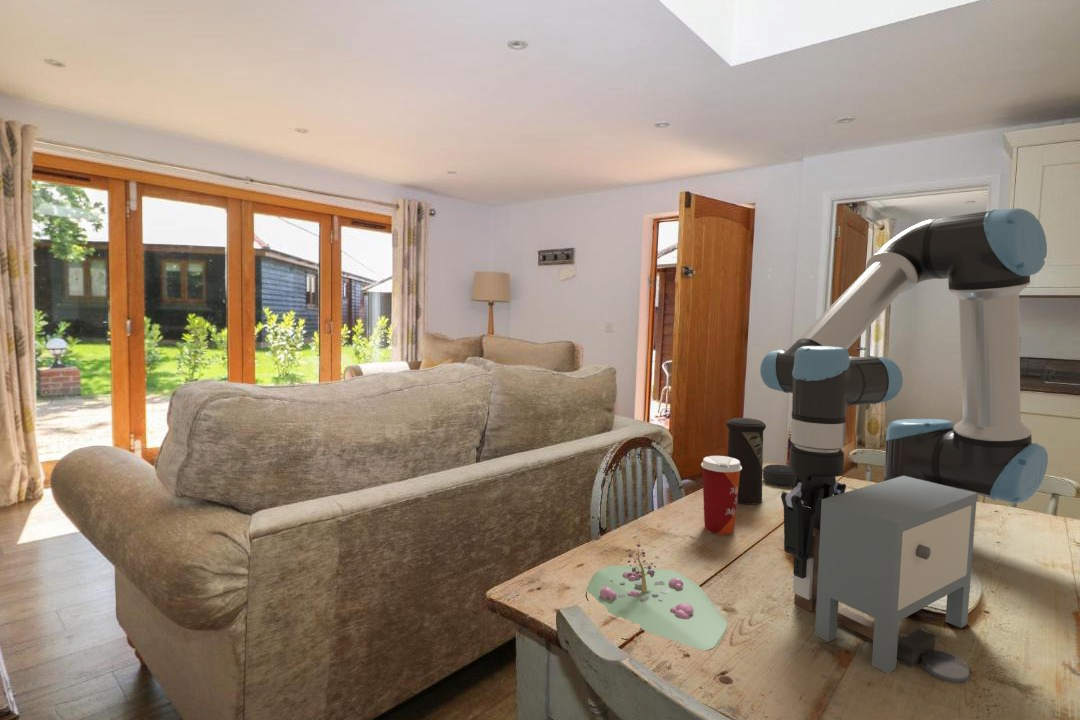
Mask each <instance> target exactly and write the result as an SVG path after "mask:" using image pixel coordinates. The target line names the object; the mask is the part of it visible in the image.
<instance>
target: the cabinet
mask: <svg viewBox="0 0 1080 720" xmlns="http://www.w3.org/2000/svg"><path fill="white" fill-rule="evenodd" d="M977 498H978V495H977V493H974V492H970V491H966V490H962V489H957V488H953V487H949V486H945V485H941V484H936V483H932V482H928V481H924V480H920V479H915V478H911V477H907V476H900V477H897V478H894V479H890V480H887V481H884V480H883V481H880V482H877V483H873V484H869V485H865V486H863V487H859V488H856V489H853V490H850V491H845V493H842V494H838V495H835V496H834V495H833V496H832V497H828V498H825V499H822V502H821V523H820V543H819V563H818V583H817V603H816V611H815V624H814V625H815V627H814V636H815V637H817V638H820V639H822V640H823V641H825V642H827V643H829V642H831V641H833V640H835V639H837V634H838V622H837V620H838V606H839V603H841V604H843V605H845V606H848V607H850V608H852V609H853V610H855V611H858V612H861V613H863V614H865V615H867V616H869V617H871V618H873V619H874V621H873V622H874V638H873V639H872V641H873V642H872V657H871V658H872V659H871V666H872V667H874V668H877V669H878V670H880V671H882V672H884V673H886V674H889V673H891V672H893V671H895V670H896V669H897V661H898V660H897V645H898V634H899V630H900V629H899V625H900V621H903V620H904V619H906V618H908V617H909V616H911V615H913V614H915V613H917V612H919V611H920V610H922V609H923V608H926V607H927V606H930V605H931V604H933V603H935V602H937V601H939V600H940V599H942V598H944V597H946V606H945V607H946V609H945V620H944V621H945V623H948V624H950V625H952V626H954V627H957V628H959V629H962V628H963V627H965V626H968V617H969V606H970V605H969V603H970V592H971V591H970V590H971V578H972V577H971V576H972V566H973V564H972V563H973V554H974V553H973V551H974V538H975V525H976V524H975V523H976V513H977V512H976V511H977Z"/></svg>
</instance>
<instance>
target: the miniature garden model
mask: <svg viewBox="0 0 1080 720" xmlns="http://www.w3.org/2000/svg"><path fill="white" fill-rule="evenodd" d="M636 547H637V548H638V549H637V553H635V555H636V556H637V558H635V557H634V554H633V552H631V551H632V549H626V550H625V552H626V553H630V554H628V558H633V559H634V560H633V561H631V560H629V559H628V560H627V563H628V564H629V563H633V564H634V565H633V564H630V565H609V566H606V567H603V568H601V569H599V570H598V571H596V572H595V573H594V574H593V575H592V577H591V578H590V581H589V583H588V586H587V588H586V592H587V591H588V593H590V594H592V596H594V597H595V598H596V600H598V602H599V603H601V604H603V605H605V606H606V608H607V610H608V612H609V613H611V614H613V615H615V616H616V617H622V618H625V620H626V619H628V620H630V621H632V623H633V624H635V623H637V624H640V627H642V629H641V630H642V631H645V632H648V633H651V634H654V635H656V636H659V637H662V638H665V639H668V640H671V641H673V642H676V643H679V644H683V645H684V646H687V647H691V648H693V649H697V650H700V651H710V650H713V649H715V648H716V647H717V646H718V645H719V644H720V642H721V641H722V639H723V638H724V636H725V633H726V631H727V628H728V622H727V620H726V619H725V617H724V616H723V615H722V613H721V612H720V611H719V609H717V607H716V606H715V605H714V603H713V602H712V600H710V598H709V597H708V595H707V594H706V593H705V591H704V590H703V589H702V588H701V587H700V585H699V584H697V583H696V582H694V581H693V580H691V578H688V577H687V576H685V575H684V574H682V573H681V572H678V571H676V570H673V569H672V570H671V569H662V568H657V566H656V565H653V564H654V563H653V562H650V563H647V562H646V559H643V561H642V562H641V560H640V557H641V556H642V557H643V558H644V557H646V555H645V554H646V552H645V551H644V549H641V553H640V547H641V544H640V543H639V544H636ZM646 565H647V566H646ZM652 566H653V567H652Z"/></svg>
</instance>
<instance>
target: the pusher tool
mask: <svg viewBox="0 0 1080 720" xmlns="http://www.w3.org/2000/svg"><path fill="white" fill-rule="evenodd" d="M819 543H820V530H819V529H816V528H814V532H813V539H812V546H811V554H810V557H812V558H814V562H813V582H812V599H810V600H808V599H806V598H804V597H801V596H799V595H797V594H795V593H794V600H793V602H794V604H796V605H798V606H800V607H802V608H804V609H806V610H807V611H810V612H816V603H817V583H818V563H819ZM837 624H840V625H842V626H844V627H846V628H848V629H851V630H852V631H855V632H857V633H859V634H861V635H862V636H865V637H866V638H868V639H871V640H873V638H874V621H872V620H870V619H868V618H866V617H864V616H861V615H860V614H857V613H855V612H854V611H851V610H849V609H847V608H845V607H842V606H840V605H838V620H837ZM935 645H936V635H935V634H933V633H932V632H929V631H926V630H924V629H921V628H918V629H916V630H914V631H912V632H911V633H909V634H907V635H903V634H901V633H898V645H897V661H898V662H900V663H902V664H904V665H906V666H908V667H910V668H913V667H915V666H916V665H918V664H919V663H921V660H922V653H923V652H924V651H927V650H936V649H935Z"/></svg>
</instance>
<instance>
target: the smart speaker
mask: <svg viewBox="0 0 1080 720" xmlns="http://www.w3.org/2000/svg"><path fill="white" fill-rule="evenodd" d="M795 477H796V474H795V472H794V471H793V470H792V469H791V468H790V467H789V465H785V464H768V465H766V466H763V471H762V480H764V481H765V482H766V483H768V484H770V485H773V486H776V487H777V486H778V487H793V483H794V481H795ZM764 481H763V482H764Z"/></svg>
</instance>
